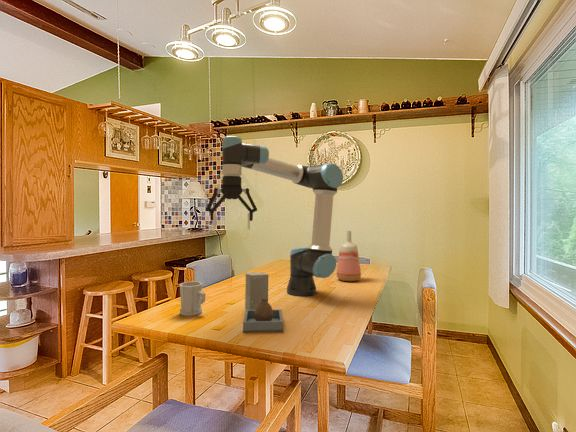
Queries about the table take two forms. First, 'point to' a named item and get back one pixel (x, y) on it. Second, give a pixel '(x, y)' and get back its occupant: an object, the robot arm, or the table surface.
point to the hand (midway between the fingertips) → (231, 229)
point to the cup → (191, 298)
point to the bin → (263, 322)
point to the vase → (263, 311)
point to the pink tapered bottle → (348, 261)
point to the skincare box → (255, 289)
